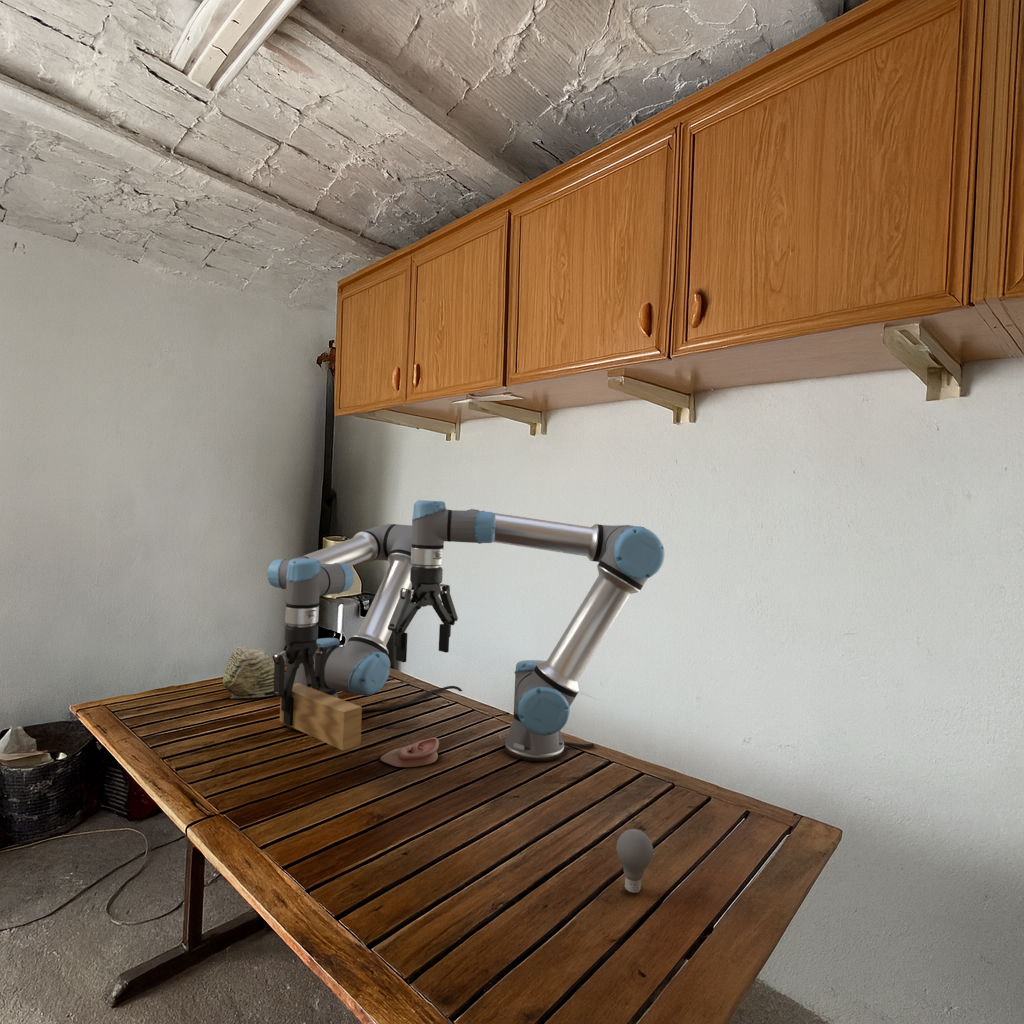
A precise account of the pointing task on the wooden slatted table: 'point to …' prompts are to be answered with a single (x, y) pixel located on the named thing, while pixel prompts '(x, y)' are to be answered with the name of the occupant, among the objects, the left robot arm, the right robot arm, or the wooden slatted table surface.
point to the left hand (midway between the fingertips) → (298, 720)
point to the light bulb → (634, 857)
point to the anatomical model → (413, 754)
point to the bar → (325, 717)
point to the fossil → (249, 674)
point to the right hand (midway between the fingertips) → (423, 656)
